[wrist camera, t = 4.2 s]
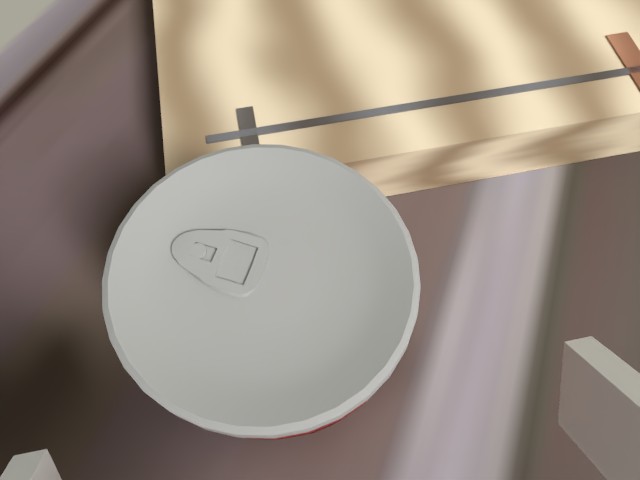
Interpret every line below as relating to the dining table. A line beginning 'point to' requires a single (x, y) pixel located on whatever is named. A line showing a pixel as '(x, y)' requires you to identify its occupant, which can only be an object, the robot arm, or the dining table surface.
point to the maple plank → (402, 83)
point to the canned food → (261, 291)
